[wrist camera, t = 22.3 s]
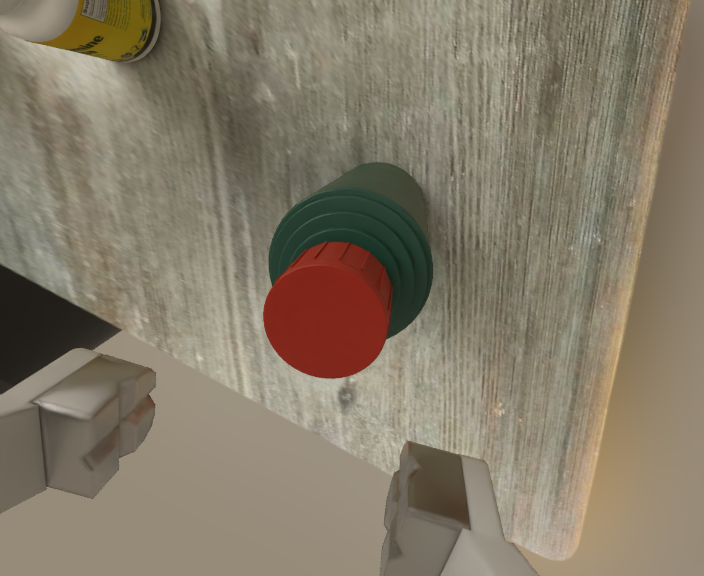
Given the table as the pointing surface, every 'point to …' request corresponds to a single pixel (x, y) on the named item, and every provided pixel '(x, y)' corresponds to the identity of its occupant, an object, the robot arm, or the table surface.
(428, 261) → the water bottle
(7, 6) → the pill bottle
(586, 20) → the table surface
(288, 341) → the cap
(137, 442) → the robot arm
